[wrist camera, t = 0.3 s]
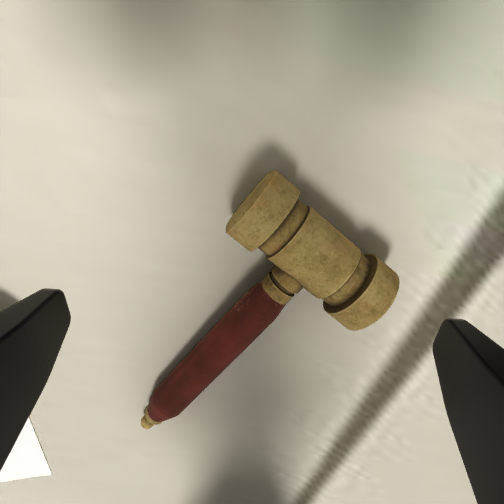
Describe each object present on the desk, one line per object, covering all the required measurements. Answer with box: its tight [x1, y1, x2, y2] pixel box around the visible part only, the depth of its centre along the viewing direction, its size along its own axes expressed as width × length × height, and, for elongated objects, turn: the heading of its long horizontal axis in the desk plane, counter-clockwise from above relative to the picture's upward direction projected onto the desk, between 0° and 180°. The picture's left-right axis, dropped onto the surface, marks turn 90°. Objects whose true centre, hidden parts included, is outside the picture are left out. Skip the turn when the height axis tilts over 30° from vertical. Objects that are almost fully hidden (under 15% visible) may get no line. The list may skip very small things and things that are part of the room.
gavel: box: [141, 170, 399, 429], centre depth 25 cm, size 21×5×10 cm
